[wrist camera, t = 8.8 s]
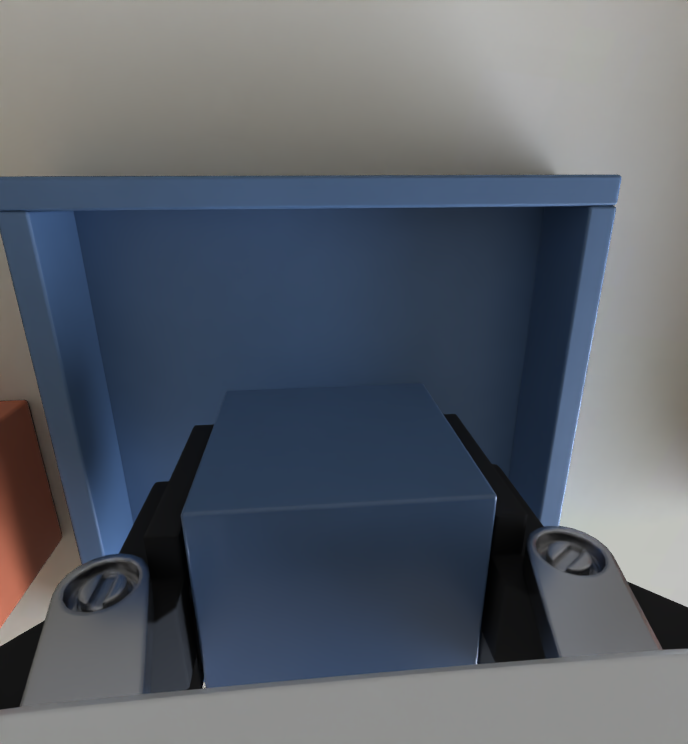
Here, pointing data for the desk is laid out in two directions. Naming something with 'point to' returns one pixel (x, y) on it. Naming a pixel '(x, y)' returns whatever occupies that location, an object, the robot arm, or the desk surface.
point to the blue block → (336, 536)
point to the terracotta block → (22, 506)
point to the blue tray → (301, 311)
